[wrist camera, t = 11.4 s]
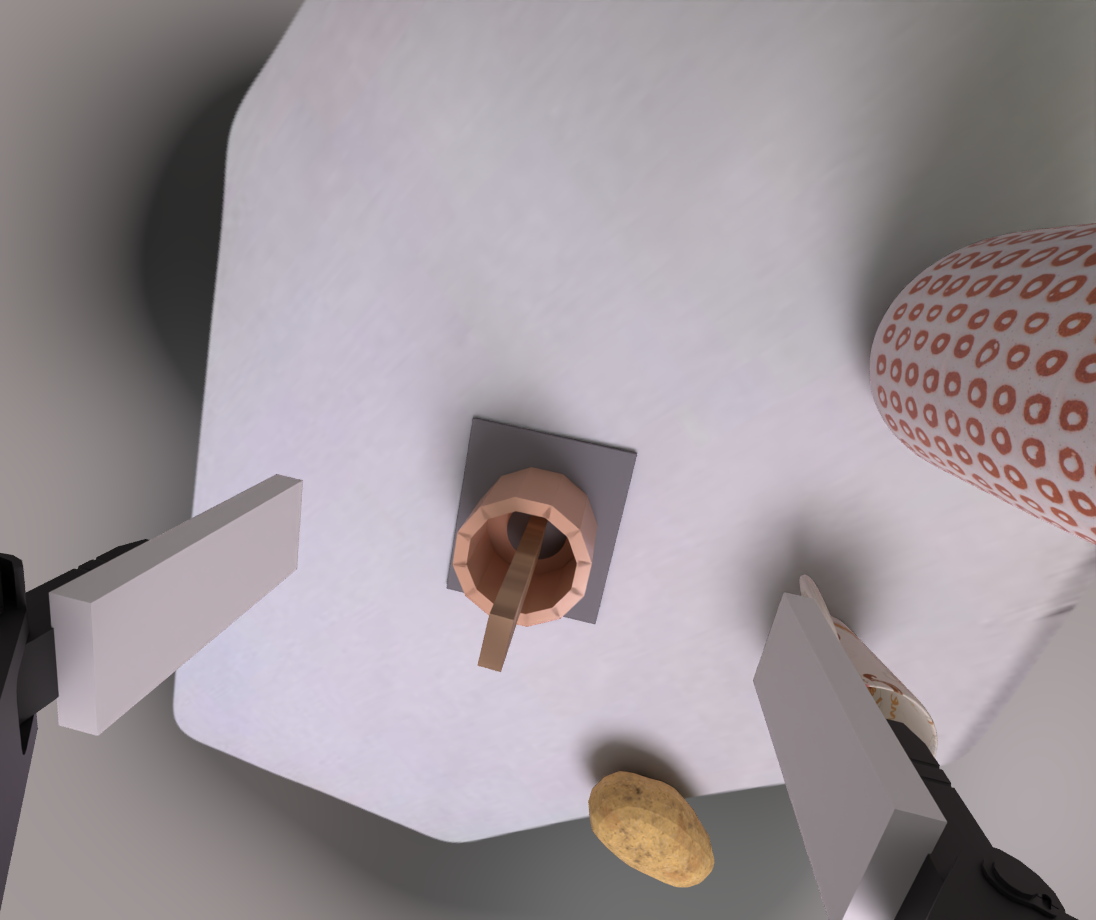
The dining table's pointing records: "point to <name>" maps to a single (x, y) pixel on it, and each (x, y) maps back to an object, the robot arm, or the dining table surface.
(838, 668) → the robot arm
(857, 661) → the mug
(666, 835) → the potato
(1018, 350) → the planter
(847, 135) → the dining table surface
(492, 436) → the mat
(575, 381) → the dining table surface
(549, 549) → the long wooden stick
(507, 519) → the jar
